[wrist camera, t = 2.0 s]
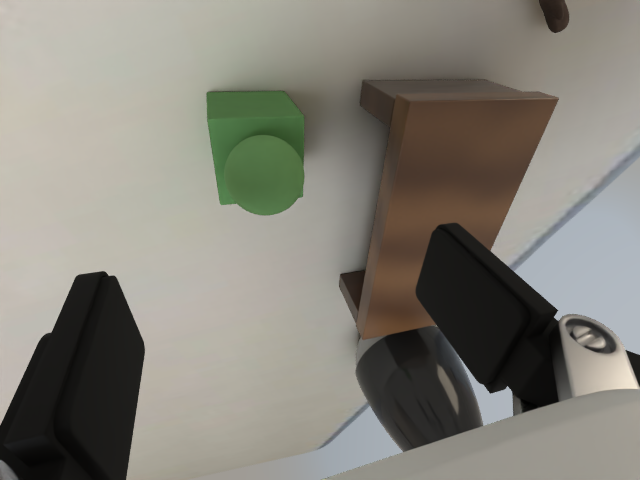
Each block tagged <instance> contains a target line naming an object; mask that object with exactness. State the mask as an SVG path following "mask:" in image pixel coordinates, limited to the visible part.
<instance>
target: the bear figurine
mask: <svg viewBox="0 0 640 480" xmlns="http://www.w3.org/2000/svg"><path fill="white" fill-rule="evenodd" d="M539 3H540V6H541V8H542V11H543V13H544V16H545V19H546V22H547V25H548V27H549V29H550V30H551V31H552V32H553V33H558V32H560V31H562V30H563V29H565V28H566V27H567V25H568V23H569V12H568V9H567V6H566V3H565V0H539Z"/></svg>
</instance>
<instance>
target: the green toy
mask: <svg viewBox="0 0 640 480" xmlns="http://www.w3.org/2000/svg"><path fill="white" fill-rule="evenodd" d="M207 121H208V127H209V134H210V140H211V147H212V154H213V160H214V167H215V174H216V180H217V187H218V194H219V200H220V204H221V205H227V204H238V205H239V206H240V207H242V208H243V209H245V210H246V211H248V212H251V213H254V214H257V215H274V214H277V213H280V212H282V211H284V210H286V209H288V208H289V207H290V206H291V205H293V204H294V202H295V201H296V200H297V199H298V198H301V197H303V184H304V168H303V165H304V115H303V114H302V113H301V111H300V110H299V109H298V108H297V106H296V105H295V104H294V103H293V101H292V100H291V99H290V98H289V96H288V95H287V94H286V93H285V92H284V91H251V92H207Z"/></svg>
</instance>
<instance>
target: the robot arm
mask: <svg viewBox="0 0 640 480" xmlns="http://www.w3.org/2000/svg"><path fill="white" fill-rule="evenodd" d="M415 293H416V296H417V299H418V300H419V302H420V303H421V304H422V306H423V307H424V309H425V310H426V311H427V313H428V314H429V315H430V317H431V318H432V320H433V321H434V322H435V324H436V325H437V326H438V328H439V329H440V331H441V332H442V333H443V335H444V336H445V337H446V339H447V340H448V342H449V343H450V344H451V346H452V347H453V348H454V350H455V351H456V353H457V354H458V355H459V357H460V358H461V360H462V361H463V362H464V364H465V365H466V366H467V368H468V369H469V370H470V372H471V373H472V375H473V376H474V377H475V379H476V380H477V381H478V382H479V383H480V384H484V386H485V387H486V389H487V390H488V391H489V393H494V392H497V391H501V390H504V389H506V387H507V386H508V387H509V388H510V389H511V391H512V393H513V416H512V417H509V418H506V419H503V420H500V421H497V422H494V423H491V424H488V425H485V426H482V427H479V428H476V429H473V430H469V431H466V432H463V433H460V434H457V435H454V436H451V437H448V438H445V439H442V440H439V441H436V442H433V443H430V444H427V445H424V446H421V447H418V448H415V449H412V450H409V451H406V452H403V453H400V454H397V455H394V456H391V457H388V458H385V459H382V460H379V461H376V462H373V463H370V464H367V465H364V466H361V467H358V468H355V469H352V470H349V471H346V472H343V473H340V474H337V475H334V476H331V477H328V478H325V479H322V480H640V355H638V354H635V353H632V352H629V351H627V350H625V348H624V346H623V344H622V342H621V341H620V339H619V337H618V336H617V335H616V334H615V333H614V332H613V331H612V330H610V329H609V328H608V327H606V326H605V325H603V324H601V323H600V322H598V321H596V320H594V319H591V318H589V317H586V316H582V315H577V314H568V315H565V316H562V318H561V319H560V320H559V321H557V320H556V319H555V318H554V316H555V314H556V313H557V311H558V310H557V309H556V308H555V307H553V306H552V305H551V304H550V303H549V302H548V301H547V300H546V299H544V298H543V297H542V296H541V295H540V294H539V293H538V292H536V291H535V290H534V289H533V288H532V287H531V286H529V285H528V284H527V283H526V282H525V281H524V280H523V279H522V278H520V277H519V276H518V275H517V274H516V273H515V272H514V271H512V270H511V269H510V268H509V267H508V266H507V265H505V264H504V263H503V262H502V261H501V260H500V259H499V258H497V257H496V256H495V255H494V254H493V253H492V252H491V251H489V250H488V249H487V248H486V247H485V246H484V245H483V244H481V243H480V242H479V241H478V240H477V239H476V238H475V237H473V236H472V235H471V234H470V233H469V232H468V231H467V230H465V229H464V228H463V227H462V226H461V225H460V224H458V223H447V224H440V225H438V226H437V227H436V229H435V230H434V231H433V232H432V234H431V237H430V241H429V244H428V248H427V251H426V254H425V258H424V261H423V265H422V268H421V271H420V275H419V278H418V282H417V285H416V289H415ZM144 354H145V347H144V342H143V339H142V337H141V334H140V332H139V330H138V327H137V325H136V323H135V320H134V318H133V315H132V313H131V311H130V308H129V306H128V304H127V301H126V299H125V297H124V294H123V292H122V289H121V287H120V285H119V282H118V280H117V278H116V277H115V276H108V274H107V273H106V272H104V271H102V272H95V273H87V274H80V275H78V276H76V278H75V280H74V282H73V284H72V287H71V289H70V291H69V294H68V296H67V298H66V301H65V303H64V305H63V308H62V310H61V312H60V314H59V317H58V319H57V321H56V324H55V326H54V328H53V331H52V333H47V334H45V335H44V336H43V337H42V338H41V340H40V341H39V343H38V345H37V347H36V349H35V351H34V354H33V356H32V358H31V360H30V362H29V364H28V367H27V369H26V371H25V373H24V375H23V378H22V380H21V382H20V384H19V386H18V388H17V391H16V393H15V395H14V397H13V399H12V401H11V404H10V406H9V408H8V410H7V412H6V415H5V417H4V419H3V421H2V423H1V425H0V480H126V476H127V469H128V462H129V455H130V449H131V442H132V435H133V429H134V422H135V415H136V408H137V402H138V395H139V388H140V382H141V375H142V368H143V361H144Z"/></svg>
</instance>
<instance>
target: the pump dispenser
mask: <svg viewBox="0 0 640 480" xmlns="http://www.w3.org/2000/svg"><path fill="white" fill-rule="evenodd" d="M356 366H357V367H356V377H357V380H358V383H359V385H360V388H361V390H362V392H363V394H364V395H365V397H366V399H367V401H368V403H369V405H370V406H371V408H372V410H373V411H374V413H375V415H376V416H377V418H378V420H379V421H380V423H381V424H382V426H383V427H384V428H385V430H386V431H387V433H389V435H390V436H391V438H392V439H393V440H394V442H395V443H396V444H397V445H398V446H399V448H400V449H401V450H402V451H403V452H406V451H409V450H412V449H415V448H418V447H421V446H424V445H427V444H430V443H433V442H436V441H439V440H442V439H445V438H448V437H451V436H454V435H457V434H460V433H463V432H466V431H469V430H473V429H476V428H479V427H482V426H483V422H482V418H481V413H480V410H479V406H478V403H477V399H476V396H475V394H474V390H473V388H472V385H471V383H470V380H469V378H468V375H467V373H466V371H465V369H464V367H463V364H462V362H461V361H460V359H459V357H458V355H457V353H456V351H455V350H454V348H453V347H452V346H451V344H450V343H449V342H448V340H447V339H446V337H445V336H444V335H443V333H442V332H441V331H440V329H439V328H437V327H435V326H433V325H431V326H427V327H422V328H417V329H413V330H408V331H403V332H399V333H394V334H389V335H385V336H380V337H375V338H371V339H366V340H362V338H360V340H359V342H358V345H357V350H356Z"/></svg>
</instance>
